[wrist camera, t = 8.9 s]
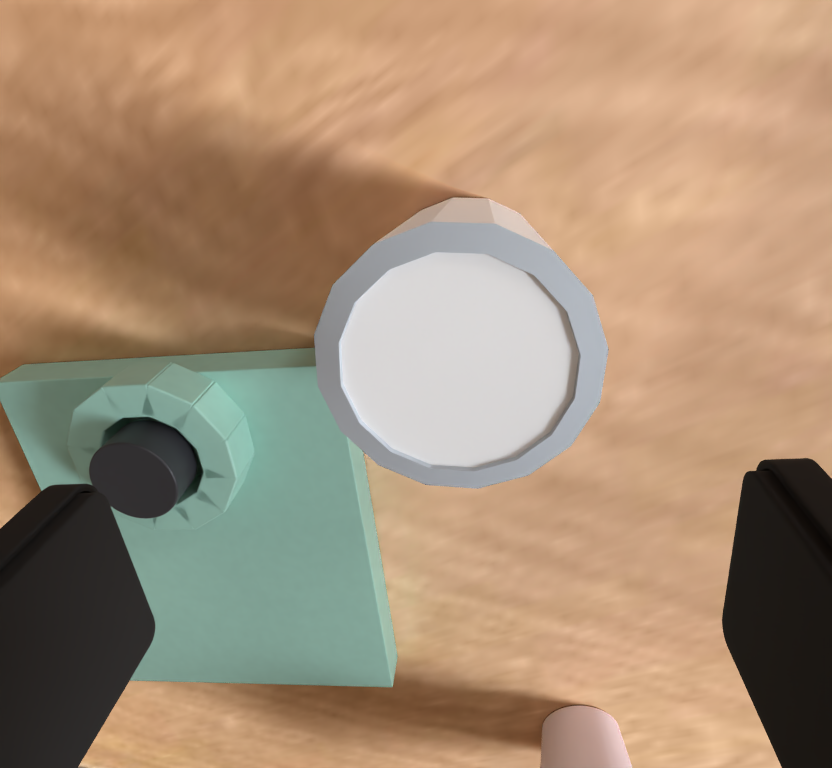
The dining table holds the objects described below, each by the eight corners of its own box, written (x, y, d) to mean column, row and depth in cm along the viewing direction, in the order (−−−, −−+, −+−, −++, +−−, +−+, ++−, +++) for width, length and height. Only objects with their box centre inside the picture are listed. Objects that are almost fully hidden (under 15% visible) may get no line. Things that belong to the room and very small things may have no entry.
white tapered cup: (325, 250, 20) (253, 323, 14) (505, 129, 18) (514, 153, 12) (435, 406, 22) (414, 529, 16) (607, 315, 20) (660, 418, 14)
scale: (18, 353, 23) (-54, 394, 20) (343, 333, 22) (319, 375, 18) (145, 651, 30) (106, 715, 27) (397, 656, 29) (386, 725, 26)
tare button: (102, 420, 21) (74, 444, 19) (185, 417, 20) (162, 441, 19) (129, 492, 22) (105, 520, 20) (207, 490, 21) (188, 518, 20)
